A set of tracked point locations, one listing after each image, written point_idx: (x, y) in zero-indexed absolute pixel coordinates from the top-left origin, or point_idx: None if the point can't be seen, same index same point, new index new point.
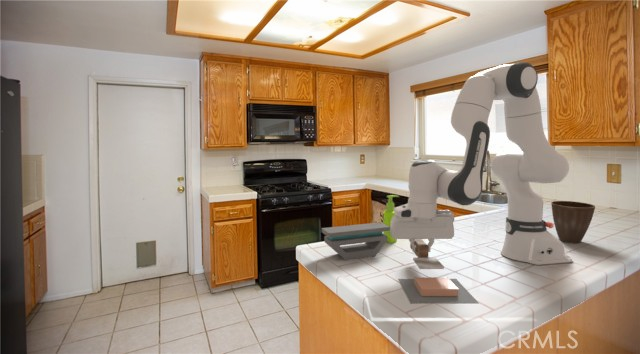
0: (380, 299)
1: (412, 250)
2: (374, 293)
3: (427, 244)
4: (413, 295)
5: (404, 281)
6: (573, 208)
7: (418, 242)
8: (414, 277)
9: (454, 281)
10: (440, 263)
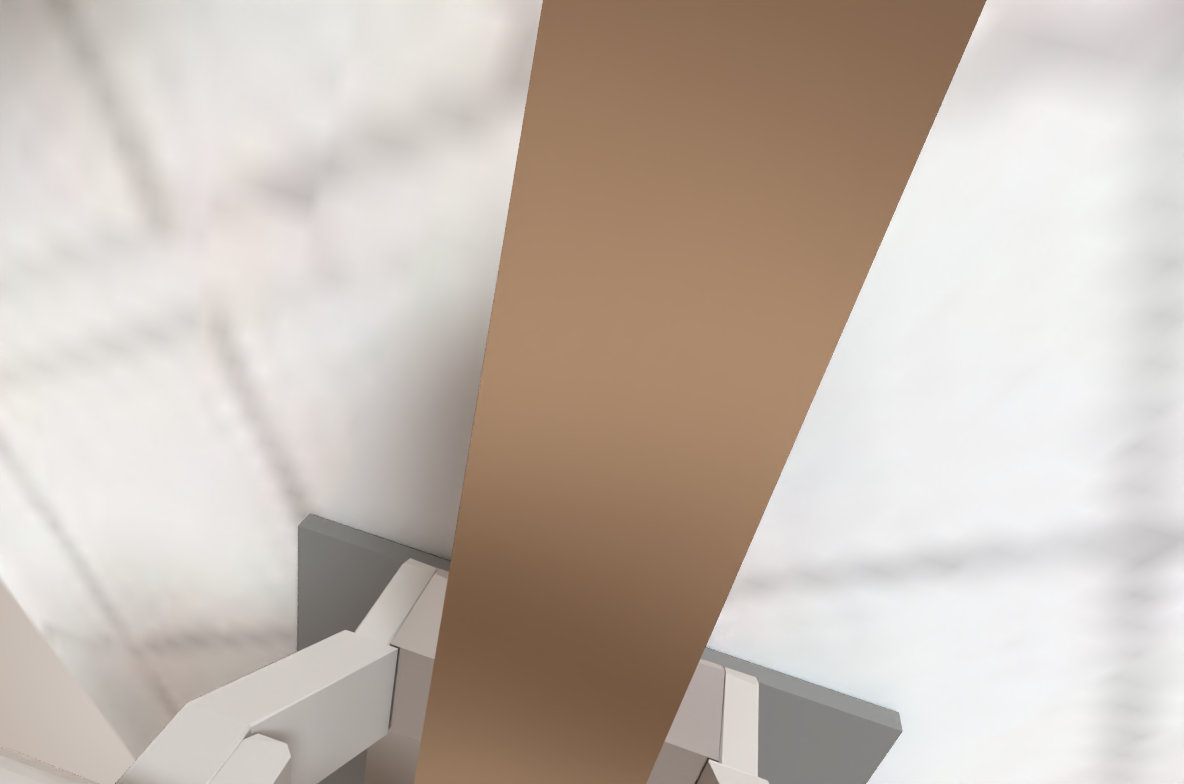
0: (138, 693)
1: (406, 571)
2: (101, 620)
3: (721, 781)
4: (342, 774)
5: (344, 591)
6: None
7: (470, 747)
8: None
9: (827, 761)
10: None
